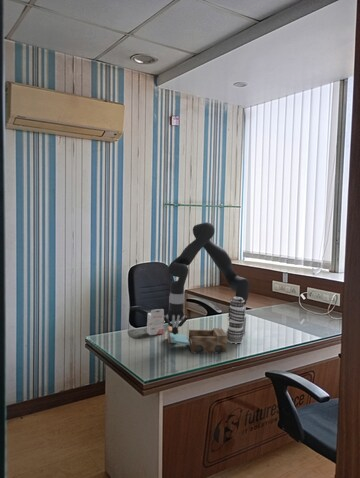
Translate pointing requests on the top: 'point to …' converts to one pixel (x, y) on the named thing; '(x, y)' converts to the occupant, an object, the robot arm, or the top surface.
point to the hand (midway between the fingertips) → (174, 334)
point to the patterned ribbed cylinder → (235, 320)
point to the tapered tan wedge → (169, 332)
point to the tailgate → (179, 339)
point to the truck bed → (208, 341)
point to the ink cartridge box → (155, 322)
